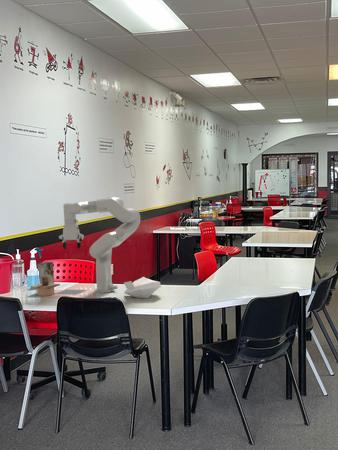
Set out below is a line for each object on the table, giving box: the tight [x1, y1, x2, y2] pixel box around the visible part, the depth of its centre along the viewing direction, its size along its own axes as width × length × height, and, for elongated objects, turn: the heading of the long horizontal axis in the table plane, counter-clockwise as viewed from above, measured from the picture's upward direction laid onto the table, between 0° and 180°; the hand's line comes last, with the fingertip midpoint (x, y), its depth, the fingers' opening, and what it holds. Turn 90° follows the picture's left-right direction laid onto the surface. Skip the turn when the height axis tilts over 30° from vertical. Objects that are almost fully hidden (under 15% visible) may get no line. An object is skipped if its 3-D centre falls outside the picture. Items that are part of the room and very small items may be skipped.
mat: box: [54, 288, 88, 296], centre depth 367 cm, size 15×15×1 cm
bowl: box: [36, 287, 55, 297], centre depth 363 cm, size 10×10×5 cm
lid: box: [30, 277, 61, 290], centre depth 363 cm, size 13×13×6 cm
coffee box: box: [36, 261, 55, 284], centre depth 394 cm, size 9×6×16 cm
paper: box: [123, 276, 162, 299], centre depth 346 cm, size 25×24×12 cm
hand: (72, 248), depth 375 cm, fingers open, 9 cm apart
